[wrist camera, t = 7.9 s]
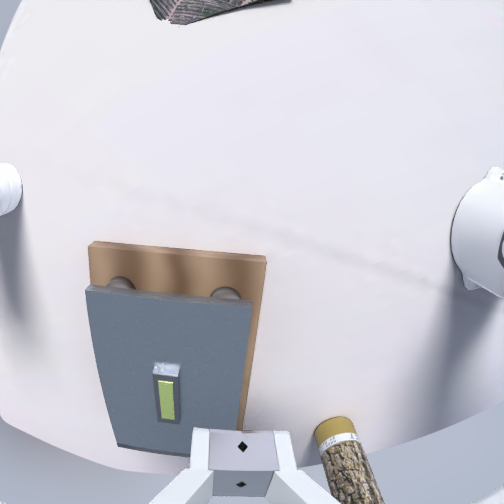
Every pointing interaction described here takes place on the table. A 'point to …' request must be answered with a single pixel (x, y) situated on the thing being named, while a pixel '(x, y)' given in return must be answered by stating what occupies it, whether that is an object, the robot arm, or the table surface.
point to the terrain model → (195, 9)
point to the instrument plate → (168, 364)
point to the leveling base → (184, 280)
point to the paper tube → (346, 463)
